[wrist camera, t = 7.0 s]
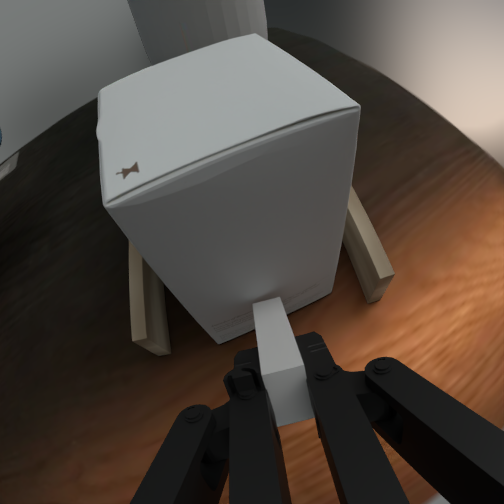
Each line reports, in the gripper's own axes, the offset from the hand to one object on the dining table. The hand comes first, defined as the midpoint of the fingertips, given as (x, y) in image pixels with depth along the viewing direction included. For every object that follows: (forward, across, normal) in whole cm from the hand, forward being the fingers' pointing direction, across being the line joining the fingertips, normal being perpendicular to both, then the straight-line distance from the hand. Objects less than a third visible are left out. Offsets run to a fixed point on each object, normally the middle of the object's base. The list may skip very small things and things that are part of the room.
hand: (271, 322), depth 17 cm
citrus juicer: (+28, 0, +22) cm, 35 cm away
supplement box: (+7, 0, +1) cm, 7 cm away
